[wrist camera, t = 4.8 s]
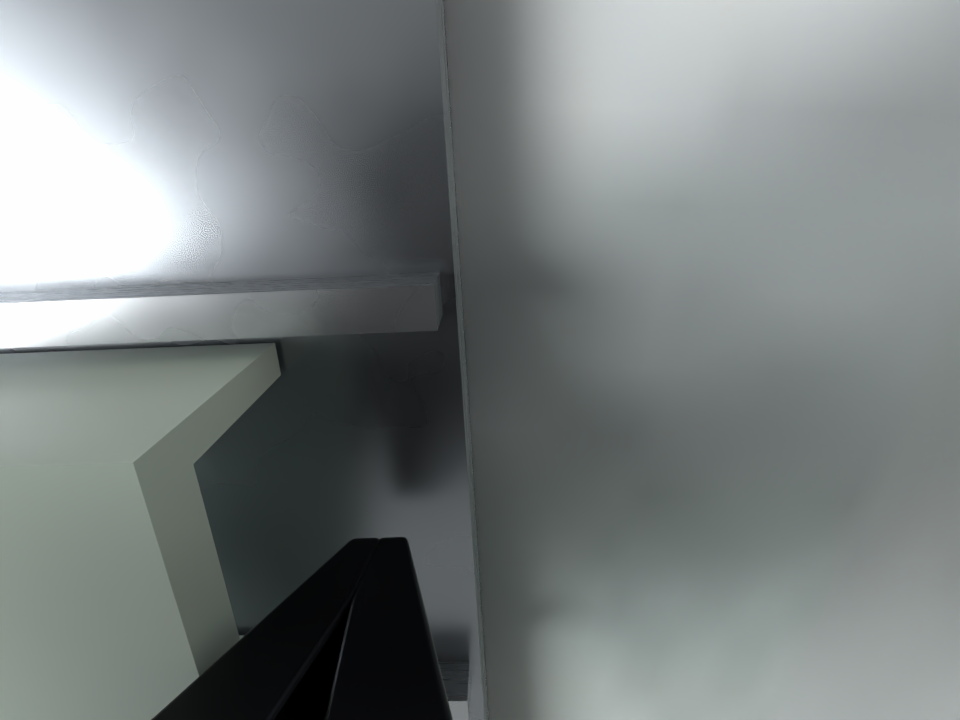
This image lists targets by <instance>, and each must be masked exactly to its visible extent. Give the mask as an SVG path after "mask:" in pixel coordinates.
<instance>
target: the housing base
mask: <svg viewBox="0 0 960 720" xmlns="http://www.w3.org/2000/svg"><path fill="white" fill-rule="evenodd" d="M259 343H275V346H276V351H277V356H278V361H279V367H280V372H281V376H280V377H279V378H278V379H277V380H276V381H275V382H274V383H273V384H272V385H271V386H270V387H269V388H268V389H267V390H266V391H265V392H264V393H263V394H262V395H261V396H260V397H259V398H258V399H257V400H256V401H255V402H254V403H253V404H252V405H251V406H250V407H249V408H248V409H247V410H246V411H245V412H244V413H243V414H242V415H241V416H240V417H239V418H238V419H237V420H236V421H235V422H234V423H233V424H232V425H231V426H230V427H229V428H228V430H227V431H226V432H225V433H224V434H223V435H222V436H221V437H220V438H219V439H218V440H217V441H216V442H215V443H214V444H213V445H212V446H211V447H210V448H209V449H208V450H207V451H206V452H205V453H204V454H203V455H202V456H201V457H200V458H199V459H198V460H197V461H196V462H195V463H194V464H193V465H194V469H195V472H196V476H197V480H198V484H199V487H200V491H201V495H202V499H203V502H204V506H205V510H206V514H207V517H208V521H209V525H210V529H211V532H212V536H213V540H214V544H215V548H216V551H217V555H218V559H219V563H220V566H221V570H222V574H223V578H224V581H225V585H226V589H227V593H228V596H229V600H230V604H231V608H232V611H233V615H234V619H235V623H236V627H237V630H238V634H239V635H246V634H247V633H248V632H249V631H250V630H251V629H252V628H253V627H254V626H256V625H257V624H258V623H259V622H260V621H261V620H262V619H263V618H264V617H266V616H267V615H268V614H269V613H270V612H271V611H272V610H273V609H274V608H276V607H277V606H278V605H279V604H280V603H281V602H282V601H283V600H284V599H286V598H287V597H288V596H289V595H290V594H291V593H292V592H293V591H294V590H296V589H297V588H298V587H299V586H300V585H301V584H302V583H303V582H304V581H306V580H307V579H308V578H309V577H310V576H311V575H312V574H313V573H314V572H316V571H317V570H318V569H319V568H320V567H321V566H322V565H323V564H324V563H326V562H327V561H328V560H329V559H330V558H331V557H332V556H333V555H334V554H336V553H337V552H338V551H339V550H340V549H341V548H342V547H343V546H344V545H346V544H347V543H348V542H349V541H350V540H352V539H355V538H378V539H381V538H384V537H405V538H407V540H408V543H409V546H410V550H411V554H412V558H413V562H414V566H415V570H416V574H417V578H418V582H419V586H420V590H421V594H422V598H423V602H424V606H425V610H426V614H427V618H428V622H429V626H430V630H431V634H432V638H433V642H434V646H435V650H436V654H437V658H438V662H439V666H440V670H441V674H442V678H443V682H444V686H445V690H446V694H447V698H448V702H449V706H450V710H451V714H452V718H453V720H489V716H488V700H487V684H486V668H485V652H484V636H483V621H482V605H481V589H480V573H479V557H478V541H477V526H476V510H475V494H474V478H473V462H472V446H471V431H470V415H469V399H468V383H467V367H466V352H465V336H464V320H463V304H462V288H461V272H460V257H459V241H458V225H457V209H456V193H455V177H454V162H453V146H452V130H451V114H450V98H449V82H448V67H447V51H446V35H445V19H444V3H443V0H0V354H9V353H34V352H59V351H84V350H109V349H134V348H159V347H184V346H209V345H234V344H259Z"/></svg>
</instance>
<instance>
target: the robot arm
mask: <svg viewBox="0 0 960 720" xmlns="http://www.w3.org/2000/svg"><path fill="white" fill-rule="evenodd" d="M151 720H453V718H452V714H451V710H450V706H449V702H448V698H447V694H446V690H445V686H444V682H443V678H442V674H441V670H440V666H439V662H438V658H437V654H436V650H435V646H434V642H433V638H432V634H431V630H430V626H429V622H428V618H427V614H426V610H425V606H424V602H423V598H422V594H421V590H420V586H419V582H418V578H417V574H416V570H415V566H414V562H413V558H412V554H411V550H410V546H409V543H408V540H407V538H405V537H384V538H381V539H378V538H355V539H352V540H350V541H349V542H348V543H347V544H346V545H344V546H343V547H342V548H341V549H340V550H339V551H338V552H337V553H336V554H334V555H333V556H332V557H331V558H330V559H329V560H328V561H327V562H326V563H324V564H323V565H322V566H321V567H320V568H319V569H318V570H317V571H316V572H314V573H313V574H312V575H311V576H310V577H309V578H308V579H307V580H306V581H304V582H303V583H302V584H301V585H300V586H299V587H298V588H297V589H296V590H294V591H293V592H292V593H291V594H290V595H289V596H288V597H287V598H286V599H284V600H283V601H282V602H281V603H280V604H279V605H278V606H277V607H276V608H274V609H273V610H272V611H271V612H270V613H269V614H268V615H267V616H266V617H264V618H263V619H262V620H261V621H260V622H259V623H258V624H257V625H256V626H254V627H253V628H252V629H251V630H250V631H249V632H248V633H247V634H246V635H244V636H243V637H242V638H241V639H240V640H239V641H238V642H237V643H236V644H234V645H233V646H232V647H231V648H230V649H229V650H228V651H227V652H226V653H224V654H223V655H222V656H221V657H220V658H219V659H218V660H217V661H216V662H214V663H213V664H212V665H211V666H210V667H209V668H208V669H207V670H206V671H204V672H203V673H202V674H201V675H200V676H199V677H198V678H197V679H196V680H195V681H193V682H192V683H191V684H190V685H189V686H188V687H187V688H186V689H185V690H183V691H182V692H181V693H180V694H179V695H178V696H177V697H176V698H175V699H173V700H172V701H171V702H170V703H169V704H168V705H167V706H166V707H165V708H163V709H162V710H161V711H160V712H159V713H158V714H157V715H156V716H155V717H153V718H152V719H151Z"/></svg>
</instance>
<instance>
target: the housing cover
mask: <svg viewBox="0 0 960 720" xmlns="http://www.w3.org/2000/svg"><path fill="white" fill-rule="evenodd" d="M280 376H281V372H280V367H279V361H278V356H277V351H276V346H275V343H259V344H234V345H209V346H184V347H159V348H134V349H109V350H84V351H59V352H34V353H9V354H0V720H151V719H152V718H153V717H155V716H156V715H157V714H158V713H159V712H160V711H161V710H162V709H163V708H165V707H166V706H167V705H168V704H169V703H170V702H171V701H172V700H173V699H175V698H176V697H177V696H178V695H179V694H180V693H181V692H182V691H183V690H185V689H186V688H187V687H188V686H189V685H190V684H191V683H192V682H193V681H195V680H196V679H197V678H198V677H199V676H200V675H201V674H202V673H203V672H204V671H206V670H207V669H208V668H209V667H210V666H211V665H212V664H213V663H214V662H216V661H217V660H218V659H219V658H220V657H221V656H222V655H223V654H224V653H226V652H227V651H228V650H229V649H230V648H231V647H232V646H233V645H234V644H236V643H237V642H238V641H239V640H240V639H241V638H242V637H243V636H244V635H239V634H238V630H237V627H236V623H235V619H234V615H233V611H232V608H231V604H230V600H229V596H228V593H227V589H226V585H225V581H224V578H223V574H222V570H221V566H220V563H219V559H218V555H217V551H216V548H215V544H214V540H213V536H212V532H211V529H210V525H209V521H208V517H207V514H206V510H205V506H204V502H203V499H202V495H201V491H200V487H199V484H198V480H197V476H196V472H195V469H194V465H193V464H194V463H195V462H196V461H197V460H198V459H199V458H200V457H201V456H202V455H203V454H204V453H205V452H206V451H207V450H208V449H209V448H210V447H211V446H212V445H213V444H214V443H215V442H216V441H217V440H218V439H219V438H220V437H221V436H222V435H223V434H224V433H225V432H226V431H227V430H228V428H229V427H230V426H231V425H232V424H233V423H234V422H235V421H236V420H237V419H238V418H239V417H240V416H241V415H242V414H243V413H244V412H245V411H246V410H247V409H248V408H249V407H250V406H251V405H252V404H253V403H254V402H255V401H256V400H257V399H258V398H259V397H260V396H261V395H262V394H263V393H264V392H265V391H266V390H267V389H268V388H269V387H270V386H271V385H272V384H273V383H274V382H275V381H276V380H277V379H278V378H279V377H280Z"/></svg>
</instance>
